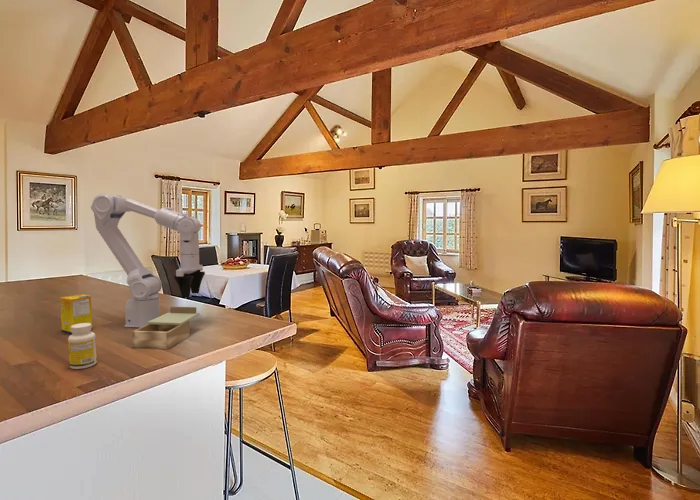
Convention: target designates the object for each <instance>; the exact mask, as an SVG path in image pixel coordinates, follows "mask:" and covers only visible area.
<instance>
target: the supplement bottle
mask: <svg viewBox="0 0 700 500" xmlns="http://www.w3.org/2000/svg"><path fill="white" fill-rule="evenodd" d="M92 328H93V326H92V327H91V323H80V324H75V325H72V326H71V333H73V334H72V335H71V334H69V336H68V338H67V345H68V346H67V347H68V361H69V363H68V364H69V367H70V369H72V370H81V369H82V370H83V369H87V368H90V367H93V366H95V365H96V364H97V361H98V355H97V354H98V353H97V338H96V333H95V332H93V331H92V330H93V329H92Z"/></svg>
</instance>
